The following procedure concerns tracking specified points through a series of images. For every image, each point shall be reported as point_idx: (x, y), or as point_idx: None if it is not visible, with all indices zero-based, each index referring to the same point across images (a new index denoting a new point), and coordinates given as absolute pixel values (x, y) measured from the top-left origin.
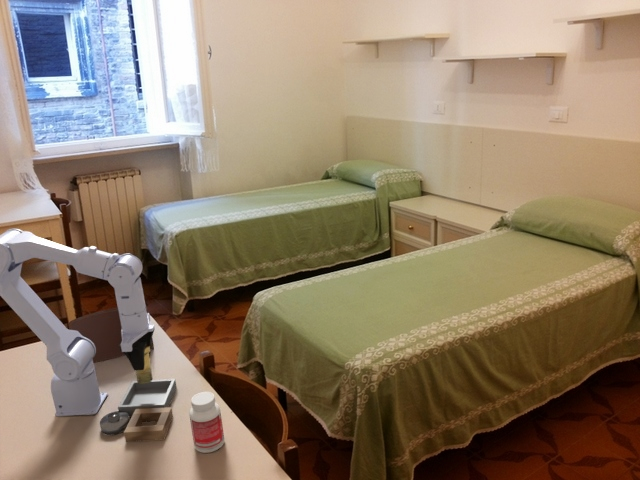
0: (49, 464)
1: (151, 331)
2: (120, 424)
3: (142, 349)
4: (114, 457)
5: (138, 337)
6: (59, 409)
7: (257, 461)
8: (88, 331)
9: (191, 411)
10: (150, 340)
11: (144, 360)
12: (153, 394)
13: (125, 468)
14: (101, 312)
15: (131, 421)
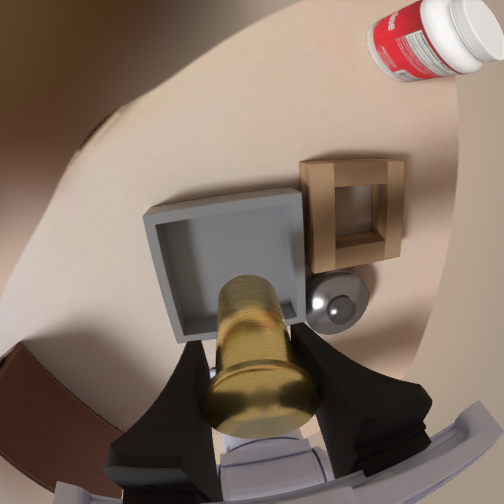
0: (407, 341)
1: (183, 466)
2: (359, 282)
3: (417, 385)
4: (419, 247)
5: (443, 465)
6: None
7: None
8: (95, 478)
9: (478, 65)
10: (185, 409)
11: (287, 347)
12: (201, 263)
13: (444, 212)
14: None
15: (366, 258)
